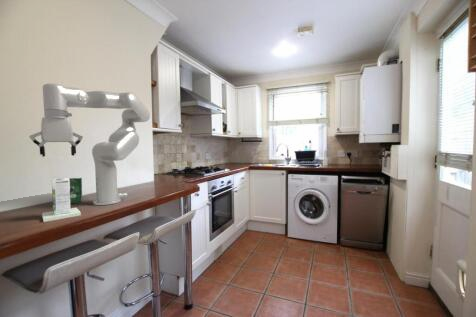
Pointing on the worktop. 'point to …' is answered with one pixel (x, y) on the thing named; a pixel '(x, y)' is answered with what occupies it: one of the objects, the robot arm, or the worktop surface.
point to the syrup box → (61, 196)
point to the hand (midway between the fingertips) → (58, 155)
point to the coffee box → (75, 190)
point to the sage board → (60, 215)
